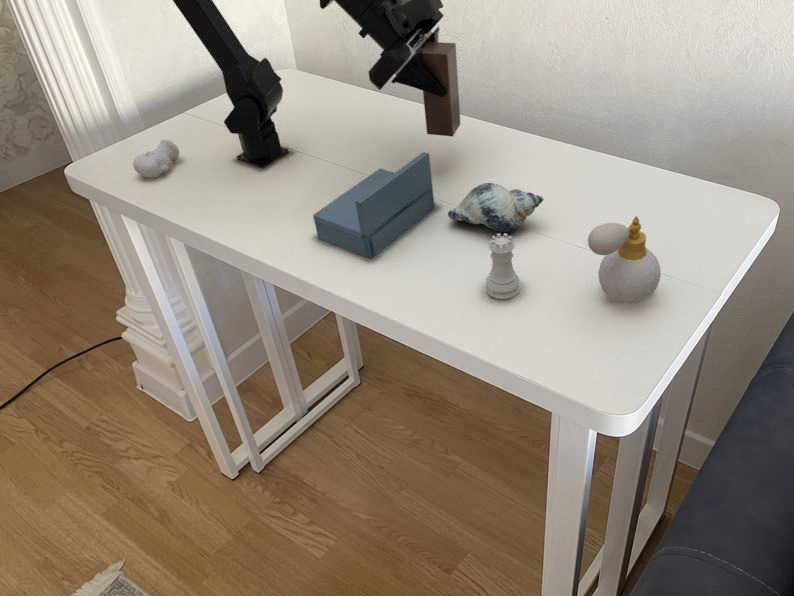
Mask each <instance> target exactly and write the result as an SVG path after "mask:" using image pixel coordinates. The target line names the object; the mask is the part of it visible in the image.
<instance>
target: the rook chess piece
mask: <svg viewBox="0 0 794 596" xmlns="http://www.w3.org/2000/svg"><path fill="white" fill-rule="evenodd" d="M515 247H516V244H515V242H514V241H513V238H512V235H509V234H508V233H506V232H503V236H502V235H501V232H499V233H495V235H492V236H491V239H490V242H489V243H488V247H487V248H488V249H489V250H490V251H491V253H490V259H491V260H492V264H491V270H490V272H489V273H488V275H487V277H486V280H485V291H486V293H487V294H488V295H489V296H491V297H492V298H494V299H496V300H509V299H512V298H514V297H515V296H516V295H517V294H518V293H519V292H520V290H521V285H520V278H519V276H518V275H517V273H516V271H515V270H514V266H513V258H514V253H513V250H514V249H515Z"/></svg>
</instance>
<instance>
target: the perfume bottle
mask: <svg viewBox="0 0 794 596" xmlns="http://www.w3.org/2000/svg"><path fill="white" fill-rule="evenodd" d="M641 229H642V224H641V223H640V219H639V217H638V216H634V218H633V219H632V221H631V223H630V224H629V226H628V227H627V226H626V225H624V224H621V223H619V222H606V223H602V224H599V225H598V226H595V227H594V228H593V229H592V230H591V231H590V233H588V238H587V244H588V247H589V249H590V250H591V252H593V253H594V254H596V255H598V256H603V258H602V260H601V262H600V264H599V269H598V282H599V285H600V288H601V289H602V291H603V293H604V294H605V295H606V296H607V297H608V298H610V299H611V300H612V301H613V302H616V303H620V304H625V305H633V304H639V303H641V302H643V301H645V300H647V299H649V298H650V297H651V296H652V295H653V294H654V293H655V291H656V290H657V288H658V286H659V283H660V280H661V275H662V274H661V265H660V262H659V260H658V258H657V256H656V255H655V254H654V253H653V252H652V251H651V250H650V249H648V247H646V241H647V235H646V234H645V233H644V232H643V231H640V230H641Z"/></svg>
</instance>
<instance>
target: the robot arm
mask: <svg viewBox="0 0 794 596" xmlns="http://www.w3.org/2000/svg"><path fill="white" fill-rule="evenodd" d="M172 2H173V3H174V4H175V6H176V8H177V9H178V10H179V12H180V13H181V15H182V16H183V17H184V19H185V20H186V21H187V23H188V25H189V26H190V28H191V29H192V30H193V32H194V33H195V34H196V36H197V38H198V39H199V40H200V42H201V44H202V45H203V47H204V48H205V49H206V51H207V52H208V53H209V55H210V56H211V58H212V59H213V60H214V62H215V63H216V65H217V66H218V68H219V69H220V71H221V73H222V77H223V83H224V86H225V87H224V88H225V91H226V95H227V96H228V98H229V100H230V103H231V104H232V106H233V108H232V109H231V111H230V113H229V114H228V115H227V116H226V117H225V119H224V120H223V124H224V125H225V127H226V129H227V130H228V131H229V133H230V134H233V135H237V136H238V139H239V140H238V141H239V143H240V146H241V150H242V152H241V153H240V154H238V155H236V160H237V161H240V162H243V163H246V164H248V165H252V166H255V167H257V168H261V169H263V168H265V167H268V166H270V165H271V164H272V163H274V162H276V161H277V160H279V159H281V158H283V157H284V156H286V155H287V154H289V153H290V151H289V149H288V148H286V147H283V146H282V145H281V140H280V137H279V133H278V131H277V129H276V124H275V121H273V119H272V118H271V117H272V116H273V115H274V114H275V113H277V111H278V105H279V104H280V103H281V101H282V99H283V93H284V88H283V86H282V84H281V82H282V77H280V76H279V74H277V72H276V71H275V70H274V68H273V67H272V64H271V62H270V60H269V59H268V58H267V57H263V59H261V60H260V61H259V60H258V59H256V58H255V57H253V56H252V55H251V54H249V53H248V52H247V50H246V49H245V47H244V46H243V45H242V43H241V41H240V40H239V39H238V36H237V35H236V34H235V32H234V31H233V30H232V28H231V26H230V25H229V23H228V22H227V20H226V18H225V17H224V16H223V14H222V13H221V11H220V10H219V8H218V7H217V5H216V4H215V2H214V1H213V0H172ZM333 2H335V3H336V5H338V6H339V7H340V9H342V10H343V12H345V13H346V14H347V15H348V16H349V18H351V19H352V20H353V21H354V22H355V23H356V25H358V26H359V27H360V28H361V29H360V30H359V32H358V35H359V36H360V37H361V38H362V39H363V40H364V39H365V38H366V37H367V36H369V37H370V38H371V40H372V41H374V42H375V43H376V45H378V46H379V48H381V49H382V51H381V52H380V54H379V56H380V58H379V59H378V60H377V61H376V62H375V63H374V64H373V65H372V66H371V68H370V69H369V70H368V78H369V82H370V83H371V84H372V85H373V86H374V87H375V88H376V89H377V90H378V91H381V90H382V89H383V88H384V86H385V85H386V84H387V83H388V82H389V81H390V82H391V83H392V84H396V83H397V84H400V85H404V86H408V87H411V88H414V89H417V90H420V91H422V92H423V91H425V92H428V93H431V94H434V95H436V96H439V97H444V96H445V95H446V94H447V91H446V90H445V88H444V87H443V85H442V84H441V83H440V81H439V80H438V79H437V78H436V77H435V75H434V74H433V73H432V72H431V70H430V69H429V68H428V67H427V65H426V64H425V63H424V59H423V52H422V49H423V48H424V47H425V45H426V44H427V43H428V42H439V34H440V27H439V26H437V28H436V29H434V27H435V26H436V25H437V24H438V23H439V22H441V20H442V19H443V18H444V16H445V15H444V14H443V13H442V12H441V11H440V9H443V8H444V4H443V3H442V0H319V7H320V9H321V10H325V9H326V8H327V7H328V6H329V5H331V4H332V3H333ZM433 29H434V30H433ZM432 30H433V31H432ZM394 75H395V76H394ZM393 76H394V77H393ZM392 77H393V78H392ZM391 78H392V80H391Z"/></svg>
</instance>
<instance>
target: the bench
mask: <svg viewBox="0 0 794 596" xmlns="http://www.w3.org/2000/svg"><path fill="white" fill-rule="evenodd" d="M430 159H431V158H430V153H429V152H426V151H423V152H421V153H420V154H419V155H417V156H416V157H415V158H414V159H412V160H410V161H408V162H407V163H406V164H405V165H403V166H402V167H400V168H399V169H398V170H397V171H395V172H393V171H390V170H388V169H384V168H382V167H381V168H378V169H377V170H376V171H374V172H373V173H371V174H369V175H368V176H367V177H365V178H364V179H362V180H361V181H360V182H358V183H357V184H355V185H354V186H352V187H351V188H350V189H348V190H347V191H345V192H344V193H342V194H341V195H339V196H338V197H336V198H335V199H334V200H332V201H330V202H329V203H328V204H327V205H325V206H324V207H322V208H321V209H319V210H318V211H317V212H315V213H313V214H312V217H313V221H314V225H315V230H316V236H317V238H318V239H319V240H321V241H324V242H327V243H329V244H332V245H334V246H336V247H339V248H341V249H345V250H347V251H349V252H352V253H354V254H357V255H359V256H363V257H365V258H368V259H370V260H371V259H373V258H374V257H375V256H376V255H378V254H379V253H380V252H382V251H383V250H385V248H386V247H387V246H389V245H390V244H392V243H393V242H394V241H395V240H396V239H398V238H399V237H401V235H403V234H404V233H405V232H406V231H408V230H409V229H410V228H411V227H413V226H414V225H415V224H416V223H418V222H419V221H420V220H421V219H423V218H424V217H425V216H426V215H427V214H429V213H430V212H431V211H433V210H434V209H435V199H434V197H435V196H434V189H433V179H432V169H431V168H432V167H431V160H430Z"/></svg>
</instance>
